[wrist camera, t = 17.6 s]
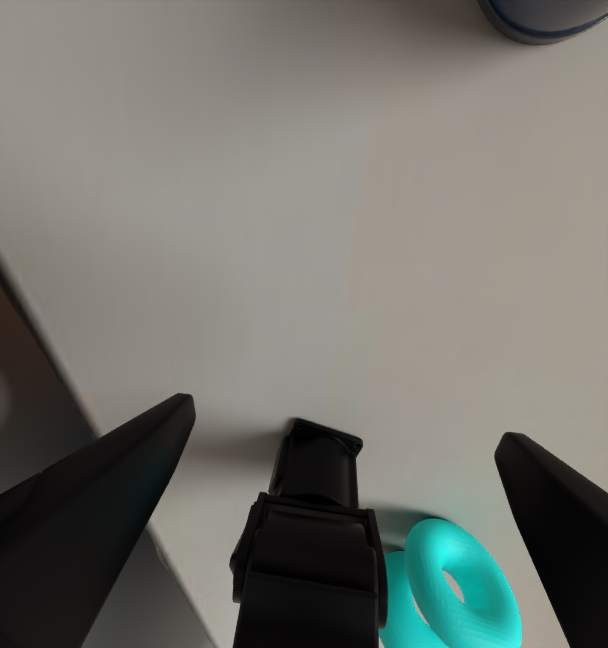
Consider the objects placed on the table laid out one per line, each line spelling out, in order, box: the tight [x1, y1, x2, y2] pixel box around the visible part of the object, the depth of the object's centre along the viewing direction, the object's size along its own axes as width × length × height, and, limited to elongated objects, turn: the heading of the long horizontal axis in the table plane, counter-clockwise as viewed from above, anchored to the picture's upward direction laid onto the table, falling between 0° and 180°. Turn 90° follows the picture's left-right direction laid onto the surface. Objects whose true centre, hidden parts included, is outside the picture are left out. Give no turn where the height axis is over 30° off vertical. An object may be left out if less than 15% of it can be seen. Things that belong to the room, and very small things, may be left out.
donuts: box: [379, 518, 522, 648], centre depth 27 cm, size 10×10×10 cm
